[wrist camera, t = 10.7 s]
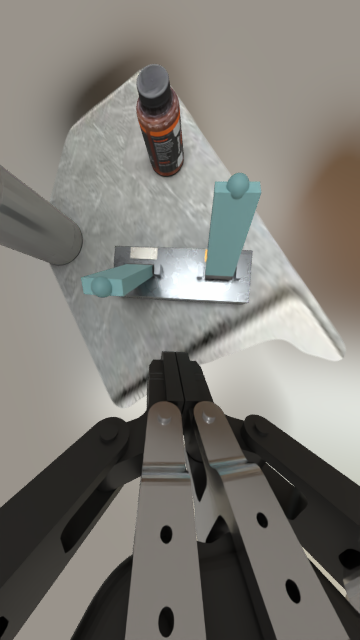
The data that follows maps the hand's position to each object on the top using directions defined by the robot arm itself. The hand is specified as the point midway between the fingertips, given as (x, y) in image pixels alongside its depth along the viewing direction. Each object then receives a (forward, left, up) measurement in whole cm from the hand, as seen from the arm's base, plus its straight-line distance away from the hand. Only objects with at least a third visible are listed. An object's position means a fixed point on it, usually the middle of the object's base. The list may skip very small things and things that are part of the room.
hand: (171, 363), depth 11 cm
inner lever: (-8, +10, -17) cm, 21 cm away
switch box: (-2, +10, -22) cm, 24 cm away
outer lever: (+4, +10, -17) cm, 20 cm away
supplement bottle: (-6, +31, -22) cm, 38 cm away
